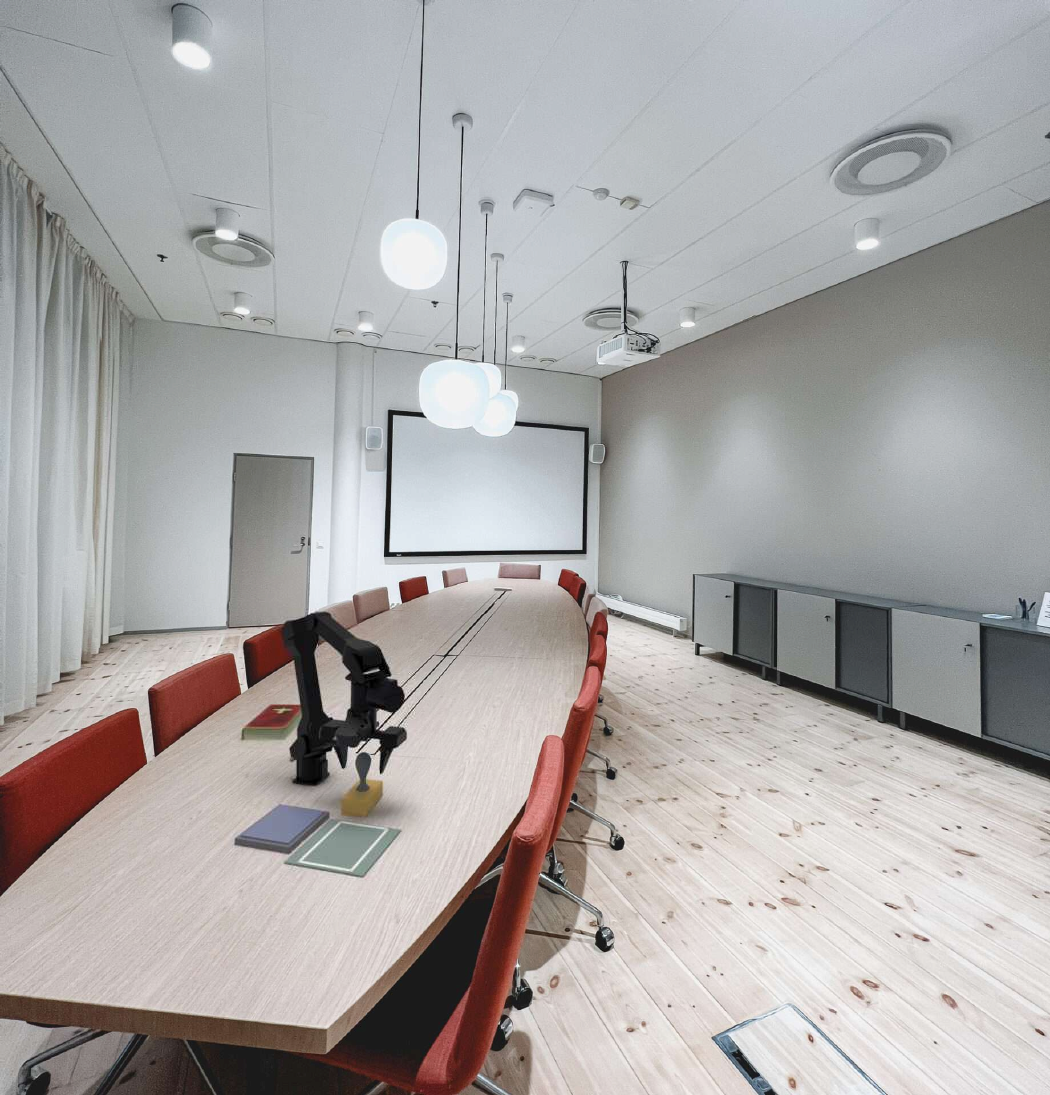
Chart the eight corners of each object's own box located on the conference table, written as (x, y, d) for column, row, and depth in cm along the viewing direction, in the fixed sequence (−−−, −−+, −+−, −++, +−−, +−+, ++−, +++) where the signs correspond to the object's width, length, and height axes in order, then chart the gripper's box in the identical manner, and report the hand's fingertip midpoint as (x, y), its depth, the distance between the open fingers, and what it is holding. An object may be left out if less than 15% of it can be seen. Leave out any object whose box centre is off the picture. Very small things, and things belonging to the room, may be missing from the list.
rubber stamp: (365, 817, 125) (366, 762, 124) (340, 814, 126) (341, 760, 125) (383, 795, 135) (384, 745, 134) (359, 793, 135) (360, 743, 135)
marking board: (284, 863, 107) (284, 861, 107) (331, 820, 123) (331, 818, 123) (363, 877, 104) (363, 875, 104) (401, 831, 119) (401, 829, 119)
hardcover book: (241, 741, 165) (241, 726, 164) (269, 716, 186) (269, 703, 185) (284, 741, 166) (284, 727, 165) (307, 716, 186) (307, 703, 186)
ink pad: (234, 844, 113) (234, 836, 113) (279, 809, 127) (279, 802, 127) (289, 853, 110) (289, 845, 110) (329, 817, 124) (329, 810, 124)
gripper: (305, 709, 123) (304, 781, 124) (386, 718, 119) (384, 792, 120) (333, 694, 134) (332, 760, 135) (408, 702, 130) (407, 770, 131)
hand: (362, 770), depth 130 cm, fingers open, 9 cm apart
